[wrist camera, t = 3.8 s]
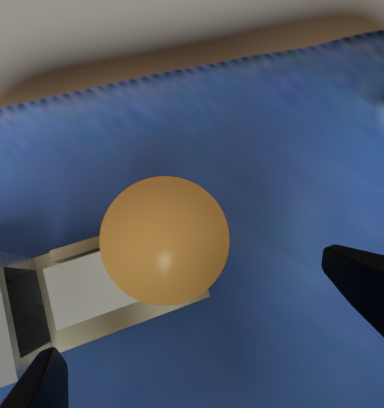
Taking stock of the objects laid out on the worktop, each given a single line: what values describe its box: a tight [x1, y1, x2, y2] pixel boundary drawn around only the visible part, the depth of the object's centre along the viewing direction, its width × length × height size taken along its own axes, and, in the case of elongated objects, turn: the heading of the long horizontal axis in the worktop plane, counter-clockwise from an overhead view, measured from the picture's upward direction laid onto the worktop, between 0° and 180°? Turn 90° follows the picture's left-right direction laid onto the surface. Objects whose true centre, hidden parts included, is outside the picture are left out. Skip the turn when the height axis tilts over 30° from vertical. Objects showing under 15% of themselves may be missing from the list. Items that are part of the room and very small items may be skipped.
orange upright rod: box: [43, 176, 230, 330], centre depth 13 cm, size 8×3×12 cm, turn 109°
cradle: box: [34, 235, 211, 353], centre depth 18 cm, size 10×6×2 cm, turn 109°
